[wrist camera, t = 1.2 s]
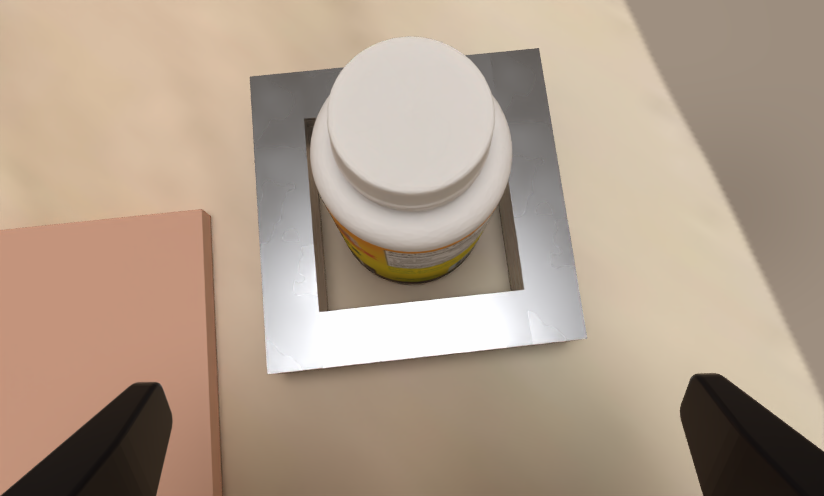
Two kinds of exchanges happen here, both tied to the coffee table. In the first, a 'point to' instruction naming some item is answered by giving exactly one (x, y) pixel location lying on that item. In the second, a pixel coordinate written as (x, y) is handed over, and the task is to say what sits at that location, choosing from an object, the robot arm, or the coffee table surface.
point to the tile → (109, 337)
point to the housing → (423, 320)
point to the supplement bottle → (411, 157)
